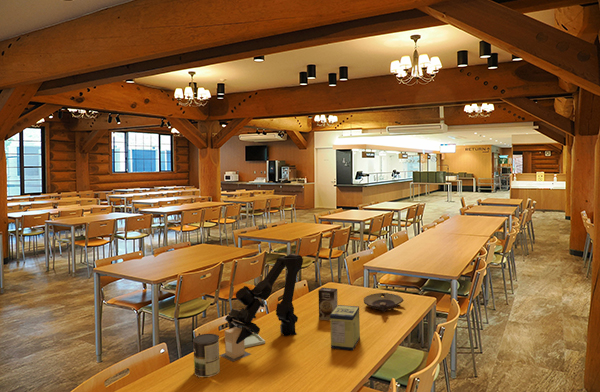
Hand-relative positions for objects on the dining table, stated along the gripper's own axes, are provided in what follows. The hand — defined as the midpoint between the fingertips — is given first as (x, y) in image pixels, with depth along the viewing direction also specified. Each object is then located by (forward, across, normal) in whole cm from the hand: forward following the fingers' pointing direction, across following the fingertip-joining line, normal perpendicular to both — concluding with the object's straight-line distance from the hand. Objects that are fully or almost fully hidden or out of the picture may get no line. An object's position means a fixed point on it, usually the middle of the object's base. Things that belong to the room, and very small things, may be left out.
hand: (232, 341), depth 191 cm
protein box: (-26, +29, +35) cm, 52 cm away
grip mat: (+4, 0, +6) cm, 7 cm away
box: (-9, -20, +18) cm, 29 cm away
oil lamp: (-62, +14, +72) cm, 97 cm away
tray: (-6, -7, +15) cm, 18 cm away
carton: (+4, 0, +5) cm, 6 cm away
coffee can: (+16, +4, -6) cm, 18 cm away
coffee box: (-40, +1, +50) cm, 64 cm away
